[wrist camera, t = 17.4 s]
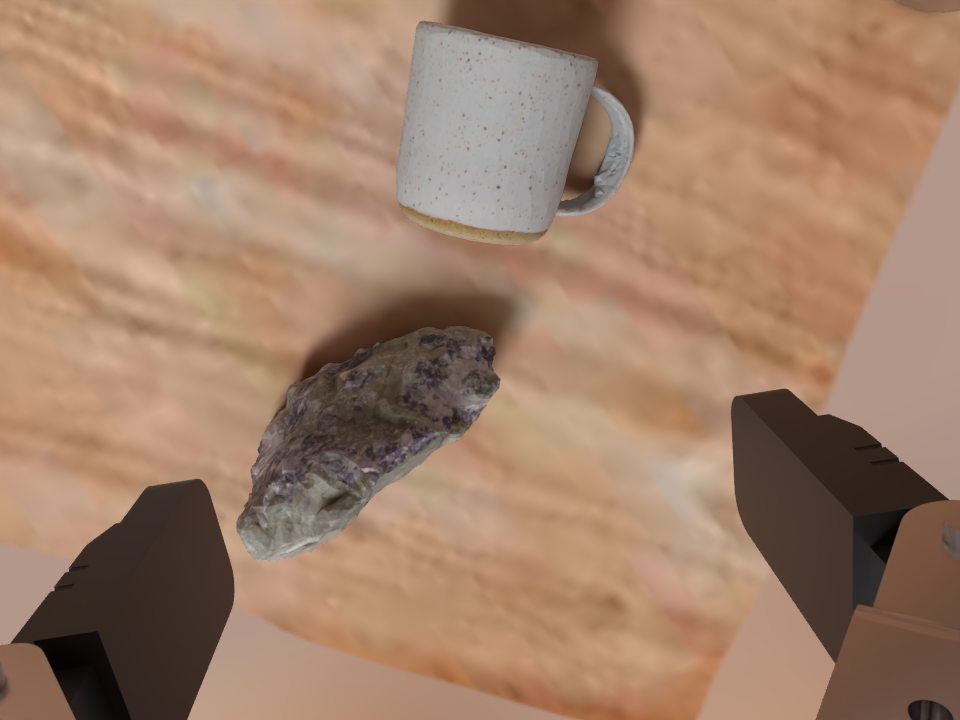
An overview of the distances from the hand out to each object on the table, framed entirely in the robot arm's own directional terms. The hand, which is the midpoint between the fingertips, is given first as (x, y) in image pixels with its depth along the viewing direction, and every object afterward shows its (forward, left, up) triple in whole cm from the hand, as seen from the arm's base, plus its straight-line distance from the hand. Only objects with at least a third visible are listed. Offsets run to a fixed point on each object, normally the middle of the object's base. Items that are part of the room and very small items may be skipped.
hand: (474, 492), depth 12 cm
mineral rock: (+6, +10, -28) cm, 31 cm away
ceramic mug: (-3, -3, -28) cm, 29 cm away
